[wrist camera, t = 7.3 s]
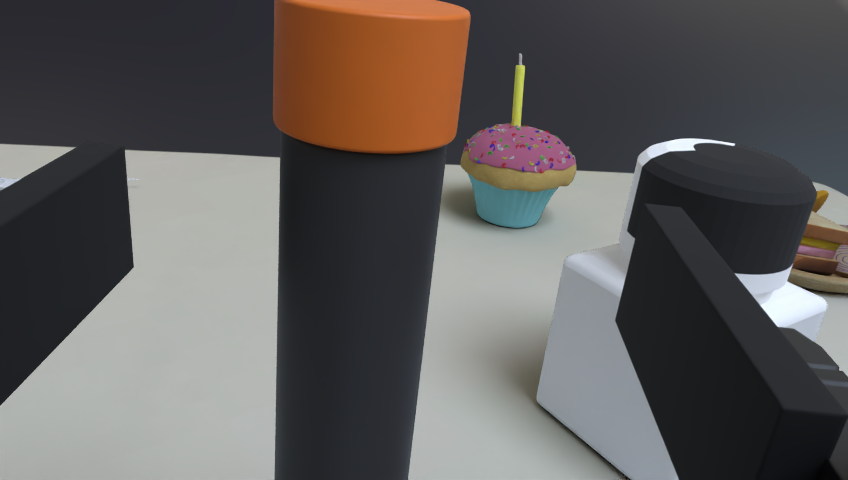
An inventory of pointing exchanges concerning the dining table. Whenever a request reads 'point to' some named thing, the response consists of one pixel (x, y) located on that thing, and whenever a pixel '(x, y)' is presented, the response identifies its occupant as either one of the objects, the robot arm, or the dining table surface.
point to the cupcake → (516, 167)
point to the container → (606, 271)
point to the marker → (358, 223)
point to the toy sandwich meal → (822, 254)
